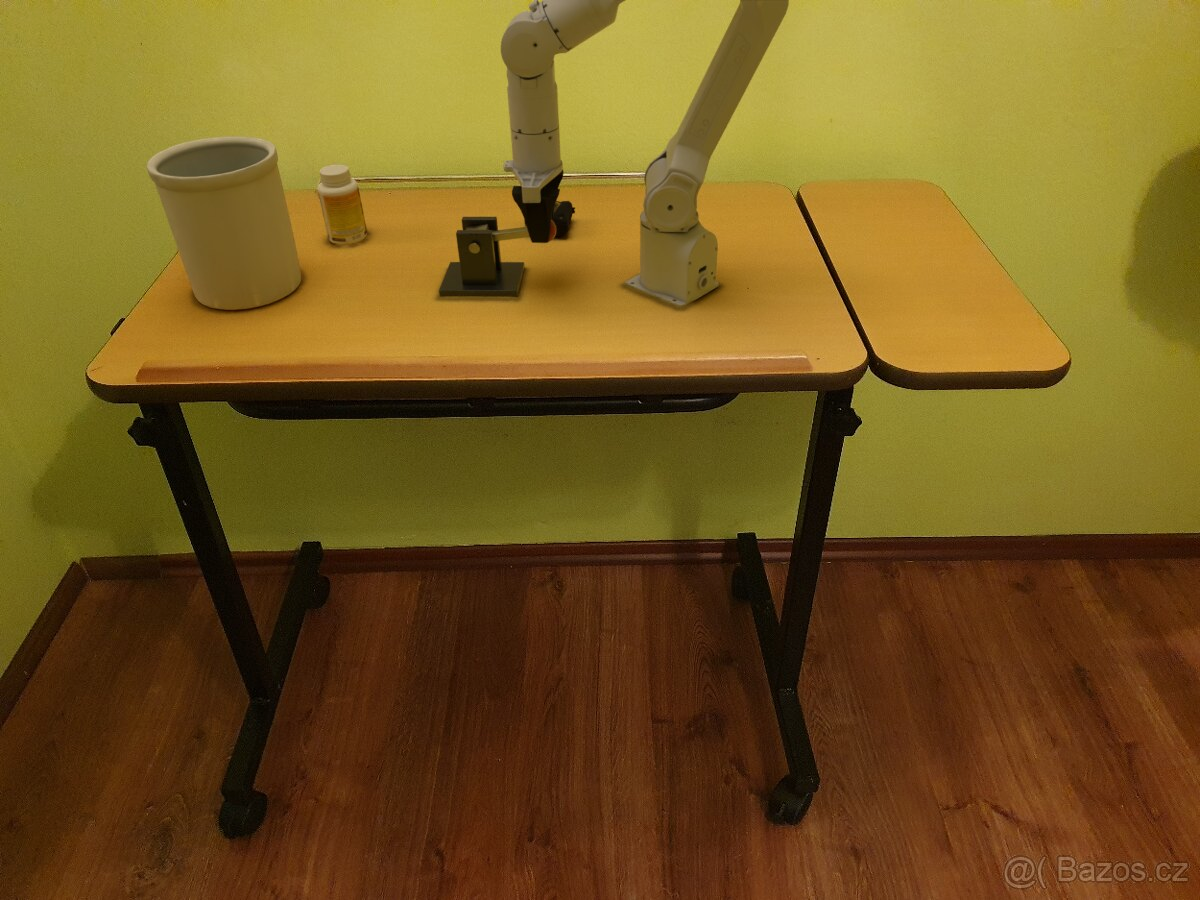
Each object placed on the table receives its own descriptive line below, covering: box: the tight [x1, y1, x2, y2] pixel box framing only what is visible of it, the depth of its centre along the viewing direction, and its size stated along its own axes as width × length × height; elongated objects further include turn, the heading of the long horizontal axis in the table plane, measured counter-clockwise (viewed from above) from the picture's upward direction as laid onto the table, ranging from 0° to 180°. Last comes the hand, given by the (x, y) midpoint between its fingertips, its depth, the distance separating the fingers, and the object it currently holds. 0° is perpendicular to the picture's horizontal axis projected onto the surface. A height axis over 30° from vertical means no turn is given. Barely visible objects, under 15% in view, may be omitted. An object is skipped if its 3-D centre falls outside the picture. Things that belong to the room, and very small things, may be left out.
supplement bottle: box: [317, 163, 368, 246], centre depth 127 cm, size 6×6×10 cm
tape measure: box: [523, 200, 576, 237], centre depth 129 cm, size 7×7×4 cm
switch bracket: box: [438, 216, 525, 298], centre depth 116 cm, size 10×8×8 cm
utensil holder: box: [146, 135, 302, 311], centre depth 114 cm, size 15×15×18 cm
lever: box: [466, 220, 556, 243], centre depth 114 cm, size 12×3×3 cm, turn 87°
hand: (541, 235), depth 114 cm, fingers closed on lever, 3 cm apart
